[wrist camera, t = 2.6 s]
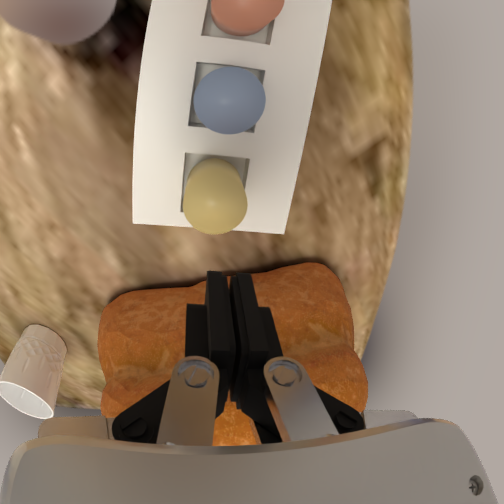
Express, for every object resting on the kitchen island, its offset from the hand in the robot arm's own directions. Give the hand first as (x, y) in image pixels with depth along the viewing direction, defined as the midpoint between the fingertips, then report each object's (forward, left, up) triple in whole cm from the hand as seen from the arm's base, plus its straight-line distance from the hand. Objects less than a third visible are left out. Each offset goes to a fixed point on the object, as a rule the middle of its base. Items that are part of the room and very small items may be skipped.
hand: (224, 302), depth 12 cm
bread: (+17, +3, -16) cm, 24 cm away
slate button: (-7, 0, -12) cm, 14 cm away
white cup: (+23, -21, -16) cm, 35 cm away
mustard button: (0, 0, -12) cm, 12 cm away
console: (-7, 0, -16) cm, 17 cm away
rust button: (-13, 0, -12) cm, 18 cm away
